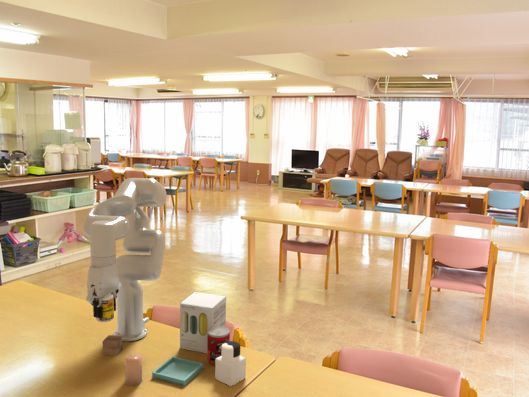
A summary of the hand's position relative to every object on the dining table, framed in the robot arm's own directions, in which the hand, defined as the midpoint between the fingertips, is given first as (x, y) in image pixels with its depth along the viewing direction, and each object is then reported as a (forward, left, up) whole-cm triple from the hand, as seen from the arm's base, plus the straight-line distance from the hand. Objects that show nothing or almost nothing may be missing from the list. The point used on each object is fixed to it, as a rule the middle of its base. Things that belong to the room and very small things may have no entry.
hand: (104, 313), depth 152 cm
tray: (-9, +22, -20) cm, 31 cm away
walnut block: (-12, -7, -20) cm, 24 cm away
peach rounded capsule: (+1, +12, -20) cm, 23 cm away
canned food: (-22, +30, -20) cm, 42 cm away
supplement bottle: (0, 0, -2) cm, 2 cm away
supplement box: (-31, +19, -20) cm, 41 cm away
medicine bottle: (-13, +39, -20) cm, 46 cm away
